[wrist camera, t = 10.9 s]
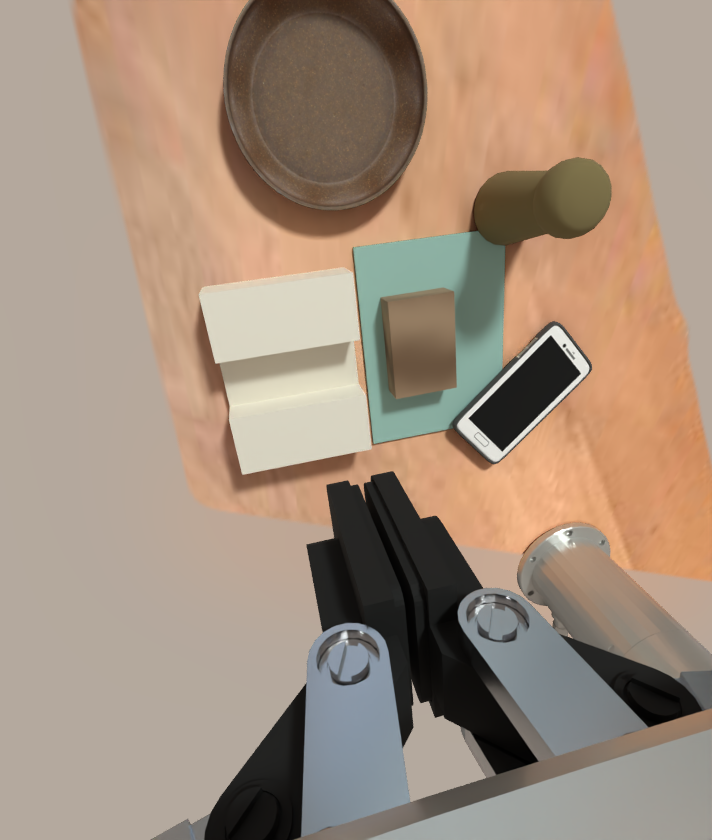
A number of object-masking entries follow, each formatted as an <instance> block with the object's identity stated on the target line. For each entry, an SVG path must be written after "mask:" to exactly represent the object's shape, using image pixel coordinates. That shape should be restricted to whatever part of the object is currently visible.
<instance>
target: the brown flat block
mask: <svg viewBox="0 0 712 840" xmlns="http://www.w3.org/2000/svg"><path fill="white" fill-rule="evenodd" d="M380 298H381V309H382V320H383V331H384V342H385V353H386V364H387V375H388V386H389V391H390V392H391V393H392V395H393V396H394V397H395V398H396V399H400V398H405V397H411V396H416V395H421V394H426V393H431V392H437V391H442V390H447V389H452V388H457V375H456V338H455V300H454V291H452V290H449V289H446V288H444V287H443V288H436V289H430V290H424V291H418V292H411V293H405V294H399V295H392V296H386V297H380Z"/></svg>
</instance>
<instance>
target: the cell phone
mask: <svg viewBox="0 0 712 840" xmlns="http://www.w3.org/2000/svg"><path fill="white" fill-rule="evenodd" d="M591 370H592V364H591V362H590V361H589V359H588V358H587V357H586V355H585V354H584V353H583V351H582V350H581V349H580V347H579V346H578V345H577V343H576V342H575V341H574V340H573V338H572V337H571V336H570V334H569V333H568V332H567V330H566V329H565V328H564V327H563V326H562V325H561V324H560V323H558V322H555V321H553V322H550V323H549V324H548V325H546V326H545V327H544V328H543V329H542V330H541V331H540V332H539V333H538V334H537V335H536V336H535V338H534V339H533V340H532V341H531V342H530V344H529V345H528V346H527V347H526V348H525V349H524V350H523V351H522V352H521V353H520V354H519V355H518V356H517V357H516V356H515V357H514V358H513V359H512V360H511V361H510V362H509V364H508V365H507V366H506V367H505V368H504V369H503V370H502V371H501V372H500V373H499V374H498V375H497V376H496V377H495V378H494V379H493V380H492V381H491V382H490V383H489V384H488V385H487V386H486V387H485V388H484V389H483V390H482V391H481V392H480V393H479V394H478V395H477V396H476V397H475V398H474V399H473V400H472V401H471V402H470V403H469V404H468V405H467V406H466V407H465V408H464V409H463V410H462V411H461V413H460V414H459V415H458V416H457V417H456V418H455V419H454V421H453V423H452V426H453V428H454V429H455V431H456V432H457V433H458V434H459V435H460V436H461V437H462V438H464V439H465V440H466V441H467V442H468V443H469V444H470V445H471V446H472V447H473V448H474V449H475V450H476V451H477V452H478V453H480V454H481V455H482V456H483V457H484V458H485V459H486V460H487V461H488V462H490V463H492V464H497V463H499V462H500V461H501V460H502V459H504V458H505V457H506V456H507V455H508V454H509V453H510V452H511V451H512V450H513V449H514V448H515V447H516V446H517V445H518V444H519V443H520V442H521V441H522V440H523V439H524V438H525V437H526V436H527V435H528V434H529V433H530V432H531V431H532V430H533V429H534V428H535V427H536V426H537V425H538V424H539V423H540V422H541V421H542V420H543V419H544V418H545V417H546V416H547V415H548V414H549V413H550V412H551V411H552V410H553V409H554V408H555V407H556V406H558V405H559V404H560V403H561V402H562V401H563V400H564V399H565V398H566V397H567V396H568V395H569V394H570V393H571V392H572V391H573V390H574V389H575V388H576V387H577V386H578V385H579V384H580V383H581V382H582V381H583V380H584V379H585V378H586V377H587V376H588V374H589V373H590V372H591ZM555 405H556V406H555Z"/></svg>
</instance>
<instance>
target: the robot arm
mask: <svg viewBox="0 0 712 840" xmlns="http://www.w3.org/2000/svg"><path fill="white" fill-rule="evenodd" d="M364 492H365V500H366V502H365V500H364V498H363V495H362V493H361V490H360V488H359V486H358V485H353V486H350V483H349V481H343V482H338V483H333V484H328V485H327V494H328V500H329V507H330V513H331V519H332V526H333V532H334V539H329V540H325V541H320V542H316V543H311V544H307V550H308V555H309V561H310V567H311V571H312V577H313V583H314V588H315V593H316V599H317V604H318V610H319V615H320V620H321V626H322V631H323V633H322V634H321V635H320V636H319V637H318V638H317V639H316V640H315V642H314V644H313V645H312V647H311V649H310V651H309V656H308V661H307V683H306V684H305V686H304V687H303V688H302V690H301V691H300V692H299V693H298V695H297V696H296V697H295V699H294V700H293V701H292V703H291V704H290V705H289V707H288V708H287V709H286V711H285V712H284V713H283V715H282V716H281V717H280V719H279V720H278V721H277V723H276V724H275V725H274V727H273V728H272V730H270V732H269V733H268V734H267V736H266V737H265V738H264V740H263V741H262V742H261V744H260V745H259V747H258V748H257V749H256V750H255V752H254V753H253V754H252V756H251V757H250V758H249V760H248V761H247V762H246V764H245V765H244V766H243V768H242V769H241V770H240V771H239V773H238V774H237V775H236V777H235V778H234V779H233V781H232V782H231V783H230V785H229V786H228V787H227V789H226V790H225V791H224V793H223V794H222V795H221V796H220V798H219V800H218V802H217V803H216V805H215V807H214V808H213V810H212V812H211V814H209V815H207V816H205V817H204V818H202V819H200V820H198V821H197V822H195V823H193V824H190V822H189V820H188V819H187V820H185V821H183V822H181V823H180V824H178V825H176V826H174V827H172V828H171V829H169V830H167V831H165V832H164V833H162V834H160V835H158V836H157V837H155V838H153V839H151V840H712V654H711V653H710V652H709V651H708V650H707V649H706V648H704V646H702V645H701V644H700V643H699V642H698V641H697V640H696V639H695V638H694V637H693V636H692V635H691V634H690V633H689V632H688V631H687V630H686V629H685V628H684V627H682V626H681V625H680V624H679V623H678V622H677V621H676V620H675V619H674V618H673V617H672V616H671V615H670V614H669V613H668V612H667V611H666V610H665V609H664V608H662V606H660V605H659V604H658V603H657V602H656V601H655V600H654V599H653V598H652V597H651V596H650V595H649V594H648V593H647V592H646V591H645V590H644V589H643V588H642V587H640V586H639V585H638V584H637V583H636V582H635V581H634V580H633V579H632V578H631V577H630V576H629V575H628V574H627V573H626V572H625V571H624V570H623V569H622V568H621V567H619V566H618V565H617V564H616V563H615V562H614V561H613V560H612V559H611V558H610V545H609V542H608V540H607V538H606V536H605V535H604V534H603V533H602V532H601V531H599V530H598V529H597V528H596V527H594V526H592V525H590V524H586V523H569V524H564V525H561V526H558V527H555V528H553V529H551V530H549V531H548V532H546V533H544V534H543V535H542V536H540V537H539V538H538V539H537V540H535V541H534V542H533V543H532V544H531V545H530V547H529V548H528V549H527V550H526V552H525V554H524V555H523V557H522V559H521V561H520V564H519V567H518V572H517V580H518V584H519V587H520V589H521V590H522V592H523V594H524V595H525V596H526V597H527V598H528V599H529V600H530V601H532V602H534V603H536V604H539V605H544V606H548V608H549V609H550V610H551V611H552V617H553V618H554V621H553V627H552V626H551V625H550V624H549V623H548V622H547V621H546V620H545V619H544V618H543V617H542V616H541V615H540V614H539V613H538V612H537V611H536V609H535V608H533V606H532V605H531V604H530V603H529V602H527V601H526V600H525V599H524V598H522V597H521V596H520V595H517V594H515V593H513V592H511V591H508V590H503V589H500V588H484V589H483V587H482V586H481V584H480V583H479V581H478V579H477V578H476V576H475V574H474V573H473V572H472V570H471V568H470V567H469V565H468V563H467V562H466V560H465V559H464V557H463V555H462V554H461V552H460V551H459V549H458V548H457V546H456V544H455V543H454V541H453V540H452V538H451V536H450V535H449V533H448V532H447V530H446V529H445V527H444V525H443V524H442V522H441V521H440V519H439V518H438V517H437V516H432V517H427V518H423V519H420V517H419V516H418V514H417V512H416V510H415V509H414V507H413V505H412V503H411V501H410V500H409V498H408V496H407V494H406V493H405V491H404V489H403V487H402V486H401V484H400V482H399V480H398V479H397V477H396V475H395V473H394V472H393V471H391V472H386V473H382V474H377V475H372V476H371V482H367V483H364ZM568 632H569V634H570V635H571V636H572V637H573V639H572V638H570V637H567V636H568ZM411 679H412V681H411ZM412 682H413V685H414V688H415V691H416V693H417V696H418V699H419V701H420V703H423V702H427V701H429V703H430V706H431V708H432V711H433V714H434V716H435V718H436V717H439V716H442V715H444V718H445V719H447V720H449V721H451V722H453V723H455V724H457V725H459V726H460V727H461V732H462V734H463V737H464V739H465V742H466V743H467V745H468V747H469V749H470V750H471V752H472V754H473V755H474V757H475V759H476V761H477V762H478V764H479V766H480V767H481V769H482V771H483V773H484V774H485V776H486V778H485V779H483V780H479V781H476V782H473V783H470V784H466V785H464V786H460V787H457V788H454V789H451V790H447V791H444V792H441V793H438V794H435V795H432V796H428V797H425V798H422V799H419V800H416V801H413V802H410V797H409V790H408V783H407V776H406V770H405V762H404V755H403V746H404V745H405V743H406V741H407V739H408V737H409V735H410V733H411V731H412V729H413V718H412V705H413V694H412Z"/></svg>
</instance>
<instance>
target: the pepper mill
mask: <svg viewBox="0 0 712 840" xmlns="http://www.w3.org/2000/svg"><path fill="white" fill-rule="evenodd" d="M610 200H611V183H610V179H609V176H608V174H607V173H606V171H605V170H604V169H603V167H602V166H601V165H600V164H598V163H597V162H595V161H594V160H591V159H585V158H579V157H577V158H573V159H568V160H565V161H561V162H560V163H558V164H557V165H555V166H554V167H552V168H551V169H550V170H548V171H506V172H501V173H497V174H496V175H494V176H493V177H491V178H489V179H488V180H487V181H486V182H485V184H484V185H483V186H482V187H481V188H480V191H479V193H478V195H477V197H476V200H475V206H474V218H475V224H476V226H477V228H478V231H479V233H480V234H481V235H482V236H483V237H484V238H485V240H487V241H489V242H491V243H492V244H494V245H502V246H505V245H509V244H513V243H516V242H520V241H523V240H527V239H530V238H534V237H537V236H541V235H545V234H549V235H551V236H553V237H555V238H563V239H571V238H575V237H579V236H582V235H584V234H586V233H588V232H589V231H591V230H592V229H594V228H595V227H596V226H597V224H598V223H599V222H600V221H601V220H602V219H603V217H604V216H605V214H606V212H607V210H608V208H609V205H610Z"/></svg>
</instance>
